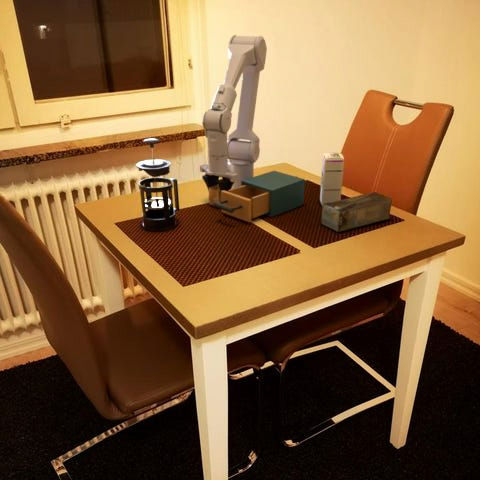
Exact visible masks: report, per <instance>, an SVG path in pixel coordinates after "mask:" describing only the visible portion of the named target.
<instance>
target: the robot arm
mask: <svg viewBox="0 0 480 480" xmlns="http://www.w3.org/2000/svg"><path fill="white" fill-rule="evenodd" d="M267 52H268V48H267V43H266V40H265V38H264V36H263V35H259V36H254V35H252V36H250V35H237V34H234V35H232V36H231V37H230V39H229V41H228V44H227V54H228V59H229V61H228V64H227V68H226V72H225V75H224V80H223V83H222V84H220V85H218V87H217V89H216V92H215V95H214V97H213V100H212V103H211V105H210V108H209V109H208V110H207V111H205V112H204V114H203V116H202V122H201V123H202V129H203V130H204V136H205V138H206V140H207V141H206V142H207V143H206V144H207V164H206V163H203V164H200V165H199V172H200V173H205V174H203V175H201V178H202V180H203V182H204V183H205V186H206V189H207V191H208V192H209V188H210V187H213V186H216V185H218V186H219V189H220V197H221V191H222V190H225V191H228V190H230V189H233V188H236V187H240V186H241V181H242V180H245V179H249V178H252V177H255V175H254V174H255V171H254V170H255V169H254V167H255V163H256V162H257V161H258V160H259V158H260V151H261V148H260V141H261V140H260V138H259V136H258V135H257V134H256V132H254V131H253V130H254V129H253V128H254V120H255V112H256V106H257V97H258V91H259V90H258V88H259V81H260V74H261V72H262V71H264V69H265V65H266V60H267V59H266V58H267ZM241 77H242V78H241ZM240 78H241V87H240V96H239V103H238V112H237V119H236V120H237V121H236V128H235V129H234V130H233V131H231V132H230V133H229V134H228V132H229V131H230V129H231V126H232V117H233V113H232V110H233V107H234V104H235V103H236V98H237V96H238V93H237V91H236V87H237V85H238V83H239V82H240Z"/></svg>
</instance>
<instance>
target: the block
mask: <svg viewBox="0 0 480 480" xmlns="http://www.w3.org/2000/svg"><path fill="white" fill-rule="evenodd" d="M214 202H221V197H220V189H219V186H218V185H216V186H213V187H210V188H209V191H208V204H209V205H210V206H213V207H214V205H213V204H214Z"/></svg>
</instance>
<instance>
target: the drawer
mask: <svg viewBox="0 0 480 480" xmlns="http://www.w3.org/2000/svg"><path fill="white" fill-rule="evenodd" d="M213 205H214V206H213V207H215V208H218V209H220V212H221V213H223V214H226V215H229V216H231V217H234V218H236V219H239V220H242V221H244V222H247V223H250V222H252V219H254V218H258V217H260V216H263V215H264V214H265V213H268V212H270V192H268V191H265V190H262V189H259V188H256V187H253V186H249V185H243V186H240V187H236V188H233V189H230V190H228V191H225V190H222V191H221V202H214V204H213Z"/></svg>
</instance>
